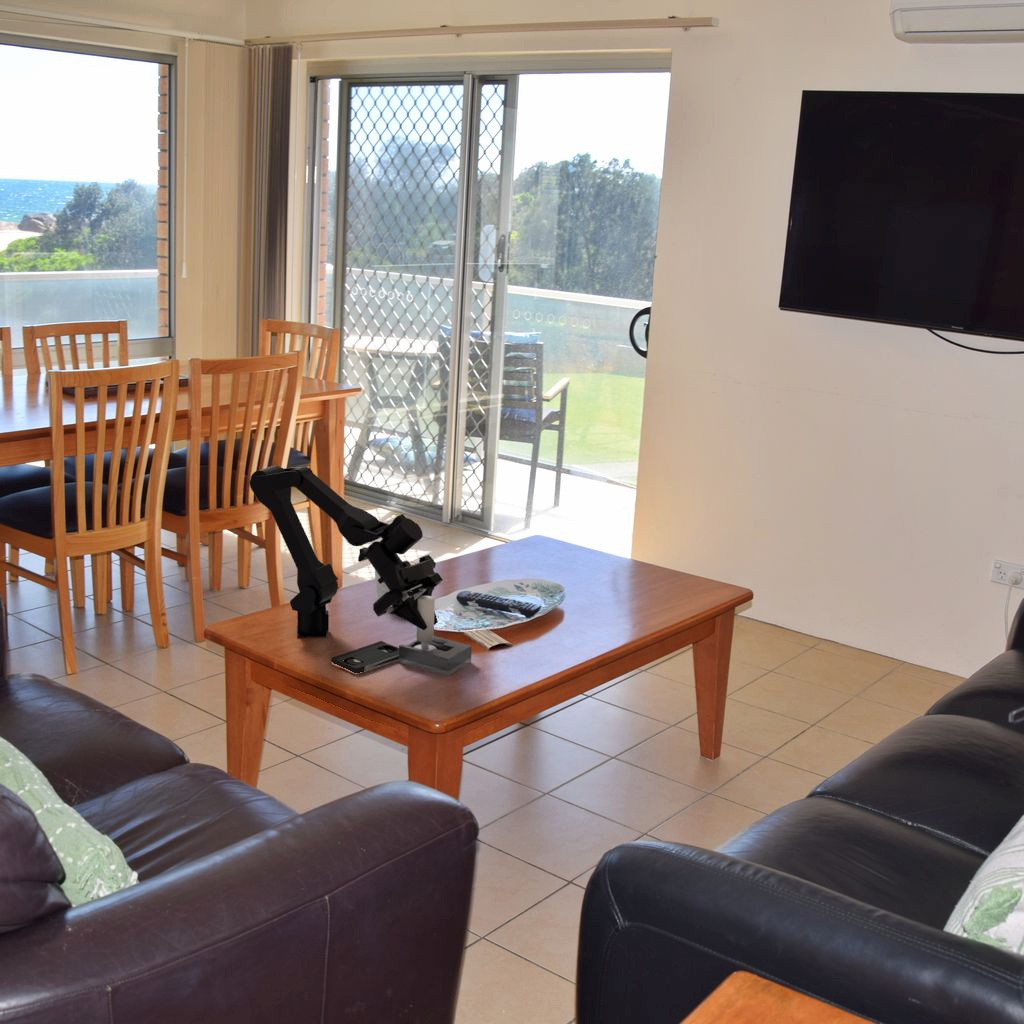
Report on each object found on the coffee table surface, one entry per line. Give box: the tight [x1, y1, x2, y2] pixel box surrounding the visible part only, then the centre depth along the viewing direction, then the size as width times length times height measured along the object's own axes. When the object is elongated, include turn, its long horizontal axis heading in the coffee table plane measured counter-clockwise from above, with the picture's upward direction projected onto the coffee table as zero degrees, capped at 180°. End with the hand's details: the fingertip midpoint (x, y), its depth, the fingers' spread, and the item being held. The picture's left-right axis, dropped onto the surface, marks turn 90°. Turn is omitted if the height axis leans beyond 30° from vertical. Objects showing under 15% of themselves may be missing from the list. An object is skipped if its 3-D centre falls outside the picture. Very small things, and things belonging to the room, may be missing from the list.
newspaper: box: [462, 629, 513, 651], centre depth 272 cm, size 24×7×2 cm, turn 32°
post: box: [414, 596, 437, 651], centre depth 252 cm, size 5×5×12 cm
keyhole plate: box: [398, 635, 473, 677], centre depth 252 cm, size 12×9×4 cm
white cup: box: [374, 559, 405, 608], centre depth 286 cm, size 8×8×10 cm
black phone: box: [330, 640, 399, 673], centre depth 252 cm, size 14×8×2 cm, turn 139°
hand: (430, 626), depth 251 cm, fingers closed on post, 4 cm apart
